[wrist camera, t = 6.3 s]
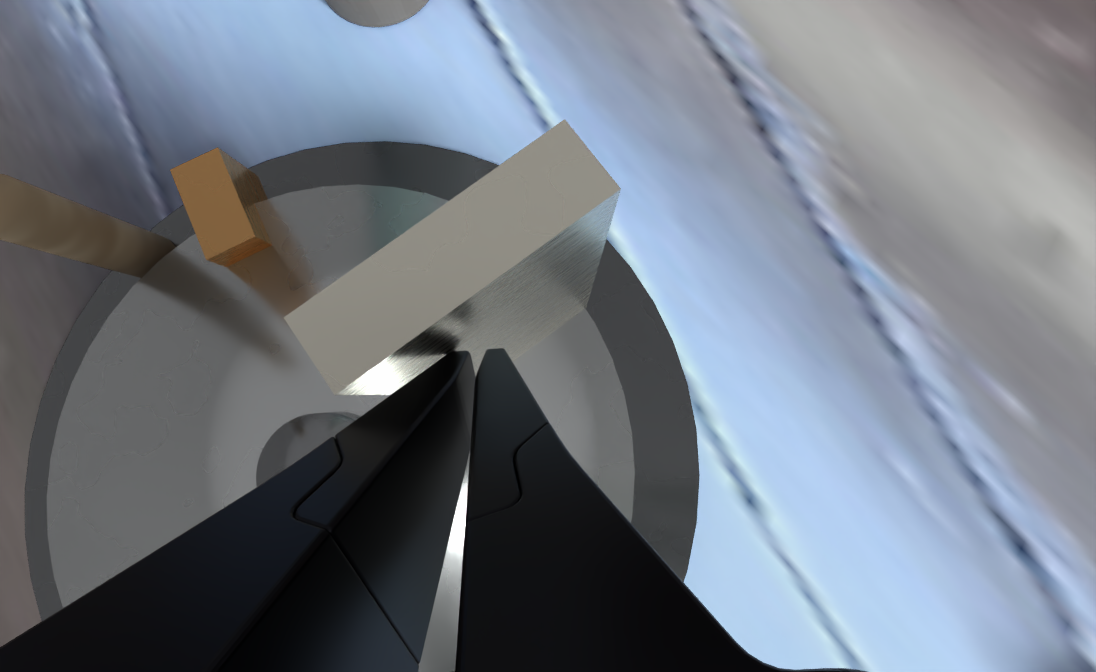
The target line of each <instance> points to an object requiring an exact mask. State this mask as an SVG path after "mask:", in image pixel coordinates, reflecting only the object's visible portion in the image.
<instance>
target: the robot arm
mask: <svg viewBox="0 0 1096 672" xmlns="http://www.w3.org/2000/svg"><path fill="white" fill-rule="evenodd" d="M469 453H470V460H469V474H468V489H467V504H466V519H465V530H464V545H463V560H462V575H461V590H460V605H459V620H458V635H457V650H456V664H455V672H866V671H862V670H856V669H846V668H823V669H802V670H792V669H782V668H777V667H774V666H771V665H769V664H766V663H763V662H762V661H760V660H758V659H757V658H755V657H753V656H752V655H750V654H749V653H747V652H746V651H745V650H744V649H743V648H742V647H741V646H740V645H739V644H738V643H737V642H736V641H735V640H734V639H733V638H732V637H731V636H730V635H729V633H728V632H727V631H726V630H725V629H724V628H723V627H722V626H721V624H720V623H719V622H718V621H717V620H716V619H715V618H714V616H713V615H712V614H711V613H710V612H709V611H708V610H707V609H706V607H705V606H704V605H703V604H702V603H701V602H700V601H699V600H698V598H697V597H696V596H695V595H694V594H693V593H692V592H691V591H690V589H689V588H688V587H687V586H686V585H685V584H684V583H683V581H682V580H681V579H680V578H679V577H678V576H677V575H676V574H675V572H674V571H673V570H672V569H671V568H670V567H669V566H668V565H667V563H666V562H665V561H664V560H663V559H662V558H661V557H660V556H659V554H658V553H657V552H656V551H655V550H654V549H653V548H652V546H651V545H650V544H649V543H648V542H647V541H646V540H645V539H644V537H643V536H642V535H641V534H640V533H639V532H638V531H637V530H636V528H635V527H634V526H633V525H632V524H631V523H630V522H629V521H628V519H627V518H626V517H625V516H624V515H623V514H622V513H621V511H620V510H619V509H618V508H617V507H616V506H615V505H614V504H613V502H612V501H611V500H610V499H609V498H608V497H607V496H606V495H605V493H604V492H603V491H602V490H601V489H600V488H599V487H598V486H597V484H596V483H595V482H594V481H593V480H592V479H591V478H590V476H589V475H588V474H587V473H586V472H585V471H584V470H583V469H582V467H581V466H580V465H579V464H578V462H577V461H576V460H575V459H574V458H573V456H572V455H571V454H570V453H569V451H568V450H567V448H566V447H565V445H564V444H563V443H562V441H561V440H560V438H559V437H558V435H557V433H556V432H555V430H554V429H553V427H552V425H551V424H550V423H549V421H548V420H547V418H546V416H545V415H544V413H543V411H542V410H541V408H540V406H539V405H538V403H537V401H536V400H535V398H534V396H533V395H532V393H531V391H530V390H529V388H528V386H527V385H526V383H525V382H524V380H523V378H522V377H521V375H520V373H519V372H518V370H517V368H516V367H515V365H514V363H513V362H512V360H511V358H510V357H509V355H508V353H507V352H506V350H505V349H503V348H497V349H487V350H486V351H485V354H484V356H483V359H482V361H481V364H480V366H479V369H478V372H477V374H476V377H475V372H474V367H473V363H472V358H471V354H470V353H469V351H466V350H464V351H452V352H450V353H448V354H447V355H445V356H444V357H442V358H441V359H440V360H438V361H437V362H436V363H434V364H433V365H431V366H430V367H429V368H427V369H426V370H424V371H423V372H422V373H420V374H419V375H418V376H416V377H415V378H413V379H412V380H411V381H409V382H408V383H406V384H405V385H404V386H402V387H401V388H400V389H398V390H397V391H395V392H394V393H393V394H391V395H390V396H388V397H387V398H386V399H384V400H383V401H382V402H380V403H379V404H377V405H376V406H375V407H373V408H372V409H370V410H369V411H368V412H366V413H365V414H363V415H362V416H361V417H359V418H358V419H357V420H355V421H354V422H352V423H351V424H350V425H348V426H347V427H345V428H344V429H343V430H341V431H340V432H339V433H337V434H336V435H335V437H330V438H329V439H328V440H326V441H325V442H324V443H322V444H321V445H319V446H318V447H317V448H315V449H314V450H312V451H311V452H309V453H308V454H307V455H305V456H304V457H302V458H301V459H299V460H298V461H296V462H295V463H294V464H292V465H291V466H289V467H288V468H286V469H285V470H283V471H281V472H280V473H278V474H277V475H275V476H274V477H272V478H271V479H269V480H267V481H266V482H264V483H263V484H261V485H260V486H258V487H256V488H255V489H253V490H252V491H250V492H248V493H247V494H245V495H244V496H242V497H240V498H239V499H237V500H236V501H234V502H232V503H231V504H229V505H228V506H226V507H224V508H223V509H221V510H220V511H218V512H216V513H215V514H213V515H212V516H210V517H208V518H207V519H205V520H204V521H202V522H200V523H199V524H197V525H196V526H194V527H192V528H191V529H189V530H188V531H186V532H184V533H183V534H181V535H180V536H178V537H176V538H175V539H173V540H172V541H170V542H168V543H167V544H165V545H164V546H162V547H160V548H159V549H157V550H156V551H154V552H152V553H151V554H149V555H148V556H146V557H144V558H143V559H141V560H139V561H138V562H136V563H135V564H133V565H131V566H130V567H128V568H127V569H125V570H123V571H122V572H120V573H119V574H117V575H115V576H114V577H112V578H111V579H109V580H107V581H106V582H104V583H103V584H101V585H99V586H98V587H96V588H95V589H93V590H91V591H90V592H88V593H87V594H85V595H83V596H82V597H80V598H79V599H77V600H75V601H74V602H72V603H71V604H69V605H67V606H66V607H64V608H63V609H61V610H59V611H58V612H56V613H55V614H53V615H51V616H50V617H48V618H47V619H45V620H43V621H42V622H40V623H39V624H37V625H35V626H34V627H32V628H31V629H29V630H27V631H26V632H24V633H23V634H21V635H19V636H18V637H16V638H15V639H13V640H11V641H10V642H8V643H7V644H5V645H3V646H2V647H0V672H418V669H419V665H418V664H419V663H420V661H421V657H422V652H423V648H424V644H425V640H426V635H427V631H428V627H429V623H430V618H431V614H432V610H433V606H434V601H435V597H436V593H437V589H438V584H439V580H440V576H441V572H442V568H443V563H444V559H445V555H446V551H447V546H448V542H449V538H450V534H451V529H452V525H453V521H454V517H455V512H456V508H457V504H458V500H459V495H460V491H461V487H462V483H463V478H464V474H465V470H466V466H467V461H468V457H469Z"/></svg>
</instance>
